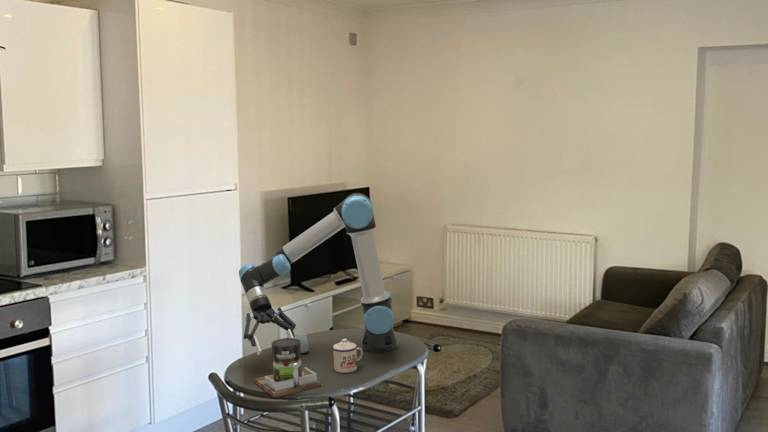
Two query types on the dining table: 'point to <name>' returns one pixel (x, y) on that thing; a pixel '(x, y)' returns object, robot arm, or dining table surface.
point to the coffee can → (286, 358)
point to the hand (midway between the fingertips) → (276, 349)
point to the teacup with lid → (346, 356)
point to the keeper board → (261, 383)
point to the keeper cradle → (292, 380)
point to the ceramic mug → (303, 343)
